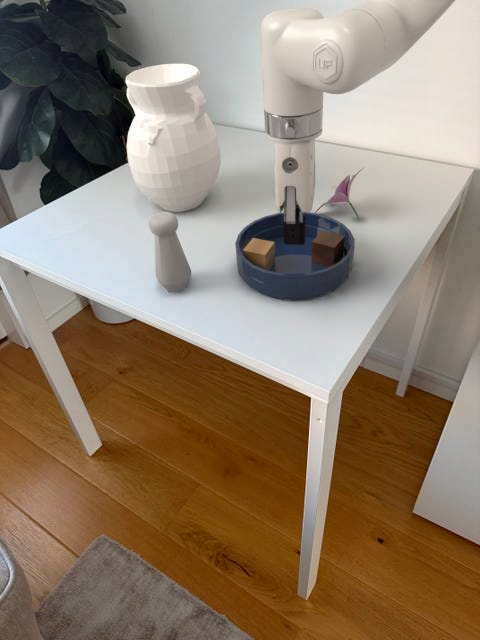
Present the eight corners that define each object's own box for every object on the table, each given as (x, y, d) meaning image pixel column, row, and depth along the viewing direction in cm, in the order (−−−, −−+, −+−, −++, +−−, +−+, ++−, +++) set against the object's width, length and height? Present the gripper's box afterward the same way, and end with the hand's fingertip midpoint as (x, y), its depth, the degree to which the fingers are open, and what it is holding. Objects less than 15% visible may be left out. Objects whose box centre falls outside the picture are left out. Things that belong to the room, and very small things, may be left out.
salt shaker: (172, 271, 83) (159, 203, 74) (199, 280, 81) (189, 210, 72) (151, 290, 79) (134, 220, 71) (179, 299, 77) (165, 229, 68)
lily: (361, 201, 99) (341, 159, 95) (395, 203, 88) (375, 156, 84) (315, 234, 97) (293, 193, 94) (344, 240, 87) (321, 194, 83)
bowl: (352, 237, 87) (354, 213, 84) (351, 305, 73) (354, 279, 70) (248, 234, 90) (246, 210, 87) (228, 298, 76) (225, 272, 73)
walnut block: (343, 256, 82) (344, 235, 79) (333, 268, 79) (334, 247, 77) (321, 250, 84) (322, 230, 81) (311, 261, 81) (311, 241, 79)
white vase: (242, 190, 104) (232, 63, 87) (189, 231, 93) (167, 94, 76) (175, 174, 112) (155, 56, 96) (120, 210, 101) (86, 82, 84)
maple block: (275, 261, 82) (274, 241, 79) (266, 275, 79) (265, 254, 77) (254, 257, 83) (252, 237, 81) (244, 270, 81) (242, 250, 78)
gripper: (319, 143, 57) (316, 270, 69) (325, 102, 68) (321, 218, 80) (256, 144, 58) (264, 268, 70) (272, 103, 69) (276, 217, 81)
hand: (294, 241), depth 75 cm, fingers closed
